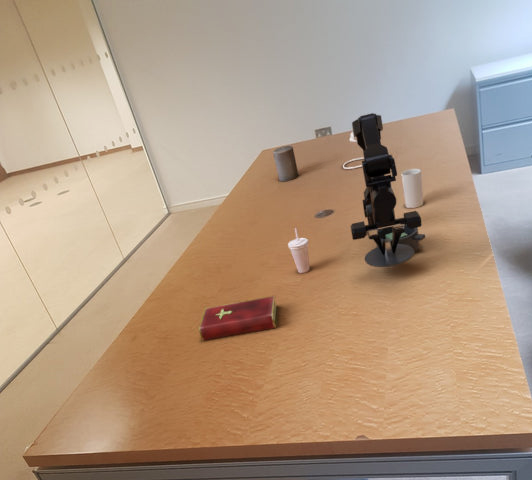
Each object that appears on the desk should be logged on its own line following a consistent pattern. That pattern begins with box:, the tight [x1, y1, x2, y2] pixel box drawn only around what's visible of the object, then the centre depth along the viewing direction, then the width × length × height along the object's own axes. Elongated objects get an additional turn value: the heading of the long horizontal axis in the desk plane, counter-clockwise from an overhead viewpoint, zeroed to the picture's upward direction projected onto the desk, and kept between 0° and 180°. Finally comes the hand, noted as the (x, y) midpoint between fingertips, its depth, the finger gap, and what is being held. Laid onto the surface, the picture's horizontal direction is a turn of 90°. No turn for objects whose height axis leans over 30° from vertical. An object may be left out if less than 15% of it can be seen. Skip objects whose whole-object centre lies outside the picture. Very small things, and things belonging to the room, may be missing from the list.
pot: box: [375, 224, 426, 254], centre depth 172 cm, size 13×18×6 cm
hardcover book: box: [198, 294, 279, 341], centre depth 158 cm, size 12×21×4 cm, turn 87°
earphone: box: [342, 131, 383, 170], centre depth 260 cm, size 14×17×18 cm
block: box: [385, 233, 408, 239], centre depth 173 cm, size 5×5×5 cm
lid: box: [364, 239, 415, 268], centre depth 158 cm, size 14×14×5 cm
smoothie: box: [287, 227, 311, 274], centre depth 175 cm, size 6×6×14 cm
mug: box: [400, 168, 424, 209], centre depth 201 cm, size 10×7×12 cm, turn 161°
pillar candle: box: [272, 145, 300, 182], centre depth 266 cm, size 10×10×15 cm
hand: (388, 253), depth 159 cm, fingers closed on lid, 3 cm apart
